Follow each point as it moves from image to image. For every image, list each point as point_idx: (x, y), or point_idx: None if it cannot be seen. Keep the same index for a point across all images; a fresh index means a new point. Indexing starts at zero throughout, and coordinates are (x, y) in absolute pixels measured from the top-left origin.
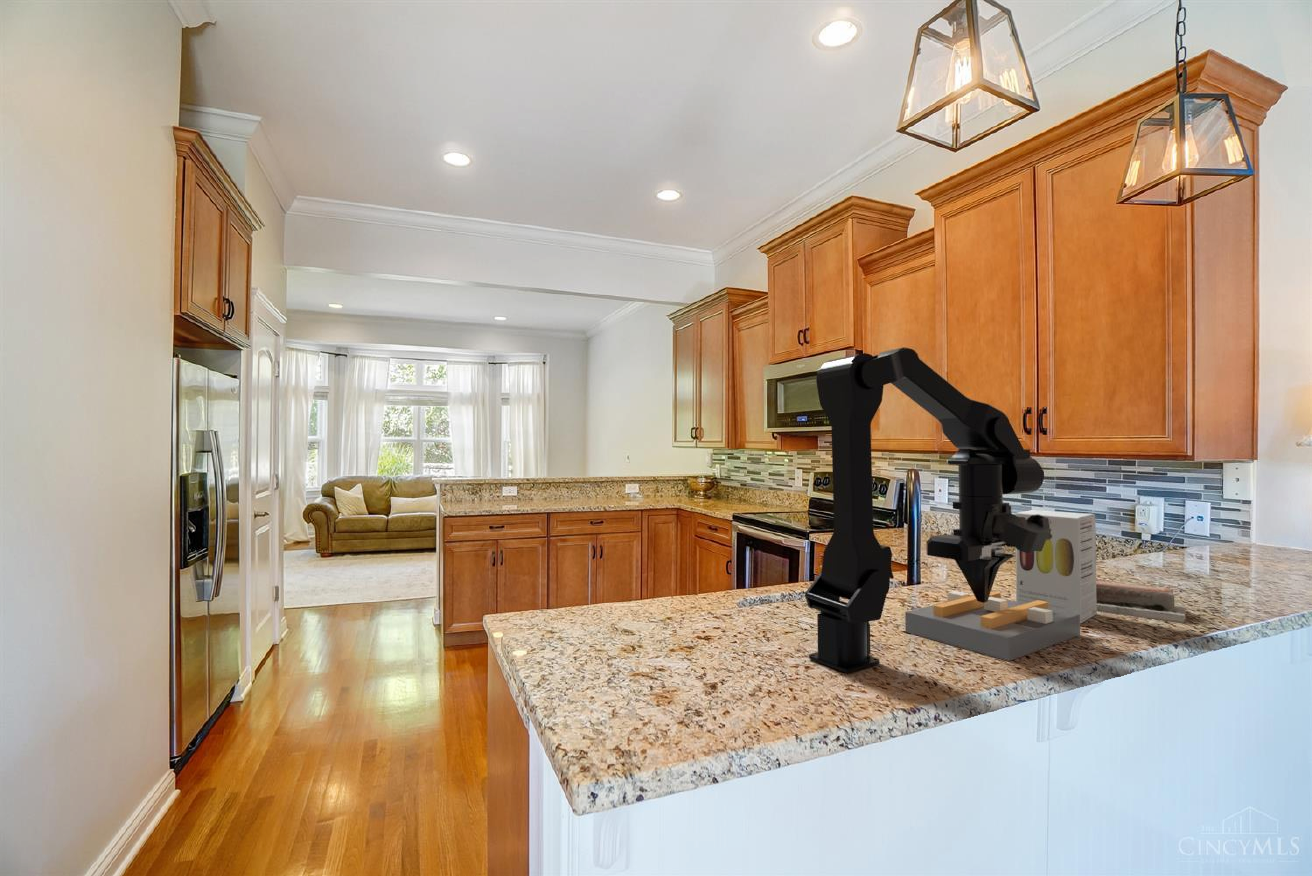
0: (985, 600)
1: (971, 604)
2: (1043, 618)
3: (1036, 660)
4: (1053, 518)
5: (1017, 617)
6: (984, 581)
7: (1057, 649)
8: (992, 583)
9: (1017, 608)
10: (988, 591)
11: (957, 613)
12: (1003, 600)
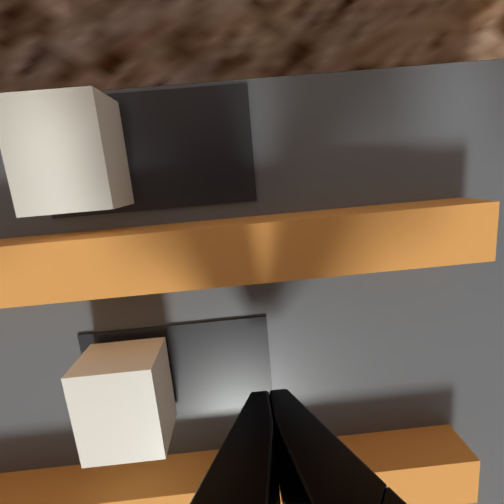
0: (278, 394)
1: (201, 471)
2: (108, 110)
3: (363, 37)
4: None
5: (193, 224)
6: (393, 491)
7: (146, 73)
8: (225, 476)
9: (130, 265)
10: (267, 428)
11: (334, 432)
12: (98, 380)
